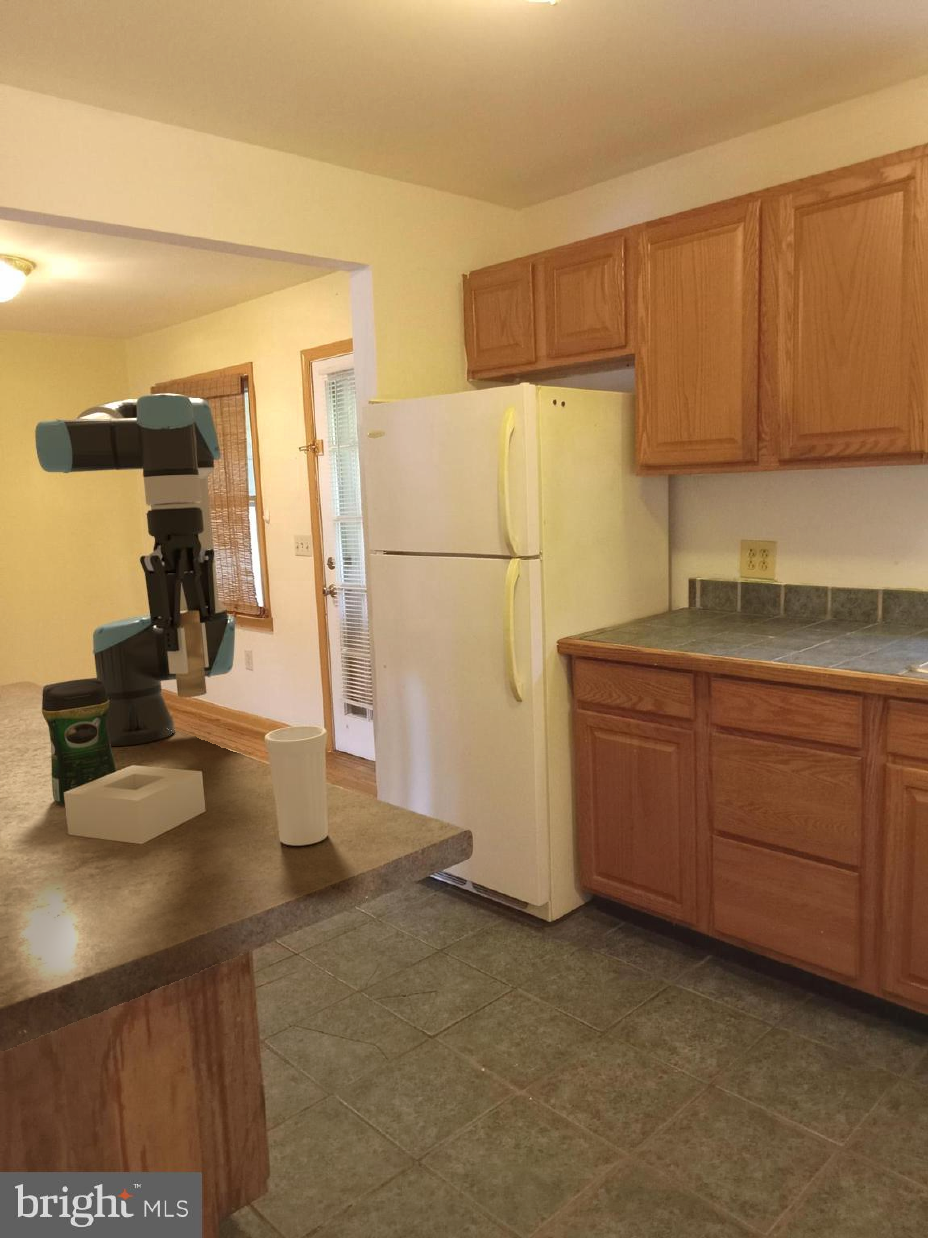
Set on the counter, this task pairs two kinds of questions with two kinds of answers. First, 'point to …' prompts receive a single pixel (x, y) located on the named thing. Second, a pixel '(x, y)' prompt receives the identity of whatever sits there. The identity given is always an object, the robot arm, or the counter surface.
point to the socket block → (134, 803)
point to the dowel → (192, 657)
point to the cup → (299, 782)
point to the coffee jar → (77, 733)
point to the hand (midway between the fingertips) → (189, 669)
